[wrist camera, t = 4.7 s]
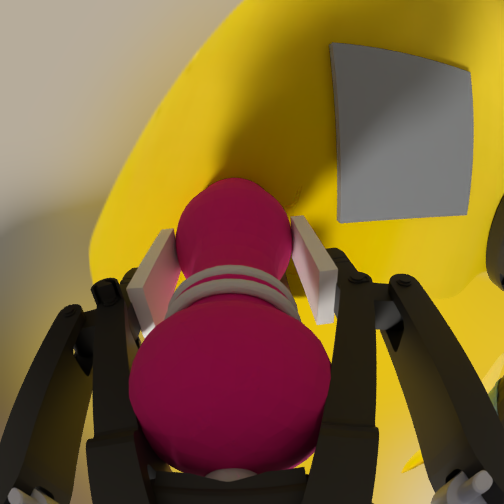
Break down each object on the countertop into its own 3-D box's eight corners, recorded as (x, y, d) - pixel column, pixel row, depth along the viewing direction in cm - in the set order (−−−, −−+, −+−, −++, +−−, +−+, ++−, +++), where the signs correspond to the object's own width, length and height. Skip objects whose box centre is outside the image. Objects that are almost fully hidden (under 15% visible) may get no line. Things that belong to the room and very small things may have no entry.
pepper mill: (195, 163, 20) (-2, 427, 2) (291, 181, 21) (475, 446, 3) (182, 251, 23) (106, 520, 5) (269, 266, 24) (320, 534, 6)
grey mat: (464, 72, 16) (470, 72, 16) (461, 212, 22) (466, 215, 22) (328, 44, 16) (332, 42, 16) (337, 219, 22) (340, 223, 22)
